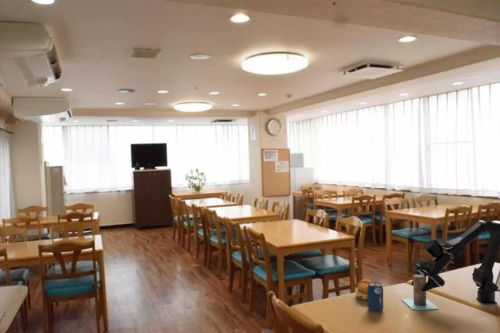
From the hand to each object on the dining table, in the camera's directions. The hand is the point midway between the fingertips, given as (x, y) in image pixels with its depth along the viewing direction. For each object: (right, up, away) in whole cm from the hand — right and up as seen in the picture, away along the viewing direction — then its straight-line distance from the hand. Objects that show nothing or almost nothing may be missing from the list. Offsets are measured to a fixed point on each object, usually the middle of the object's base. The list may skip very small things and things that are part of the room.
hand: (416, 287), depth 185 cm
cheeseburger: (-21, -9, +11) cm, 25 cm away
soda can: (-21, -9, -4) cm, 23 cm away
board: (+2, -8, 0) cm, 8 cm away
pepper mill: (+2, -8, 0) cm, 8 cm away
